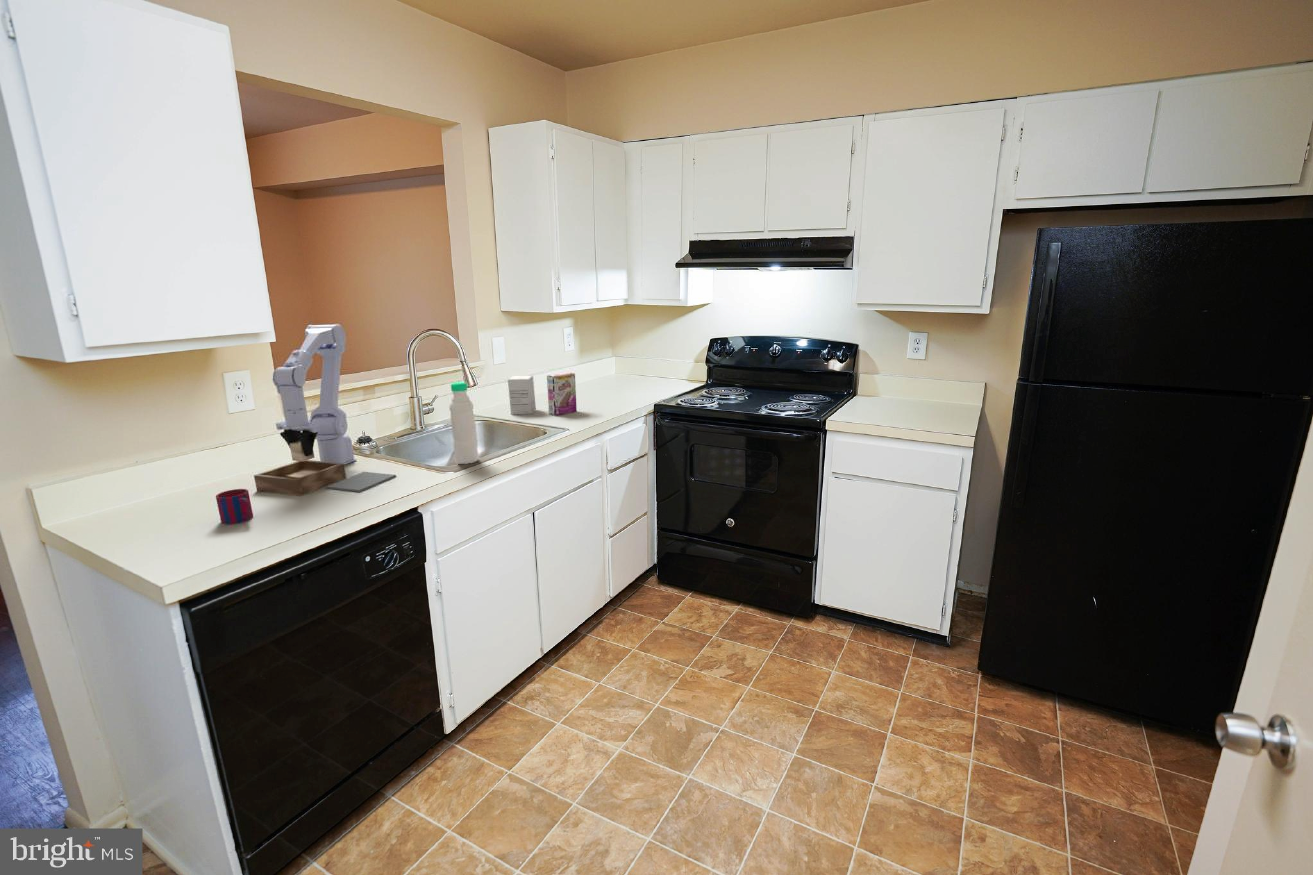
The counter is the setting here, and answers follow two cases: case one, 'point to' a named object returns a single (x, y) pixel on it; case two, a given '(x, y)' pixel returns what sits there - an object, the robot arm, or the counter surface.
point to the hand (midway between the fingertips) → (302, 454)
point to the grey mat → (361, 481)
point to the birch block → (299, 452)
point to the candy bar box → (561, 393)
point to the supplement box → (521, 395)
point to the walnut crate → (300, 477)
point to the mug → (234, 506)
